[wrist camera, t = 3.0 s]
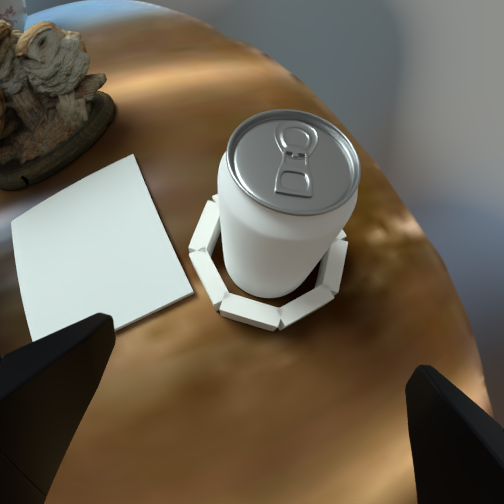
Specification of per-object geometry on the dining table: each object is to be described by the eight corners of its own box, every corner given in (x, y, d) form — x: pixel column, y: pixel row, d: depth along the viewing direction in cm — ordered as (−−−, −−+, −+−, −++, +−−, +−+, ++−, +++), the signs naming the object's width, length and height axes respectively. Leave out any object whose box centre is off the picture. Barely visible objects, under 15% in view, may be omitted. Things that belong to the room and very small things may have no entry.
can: (311, 224, 24) (362, 116, 13) (307, 304, 22) (376, 237, 11) (230, 214, 24) (229, 95, 13) (217, 293, 22) (200, 213, 11)
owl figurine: (-10, 221, 23) (-107, 124, 7) (-10, 153, 27) (-73, 65, 11) (129, 132, 27) (80, -19, 11) (104, 81, 31) (70, -32, 15)
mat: (194, 293, 22) (193, 291, 21) (43, 364, 19) (39, 364, 18) (134, 157, 26) (133, 153, 25) (14, 224, 23) (11, 221, 22)
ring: (358, 284, 23) (371, 274, 20) (238, 352, 20) (238, 351, 18) (290, 180, 26) (295, 162, 23) (176, 230, 23) (170, 215, 21)
